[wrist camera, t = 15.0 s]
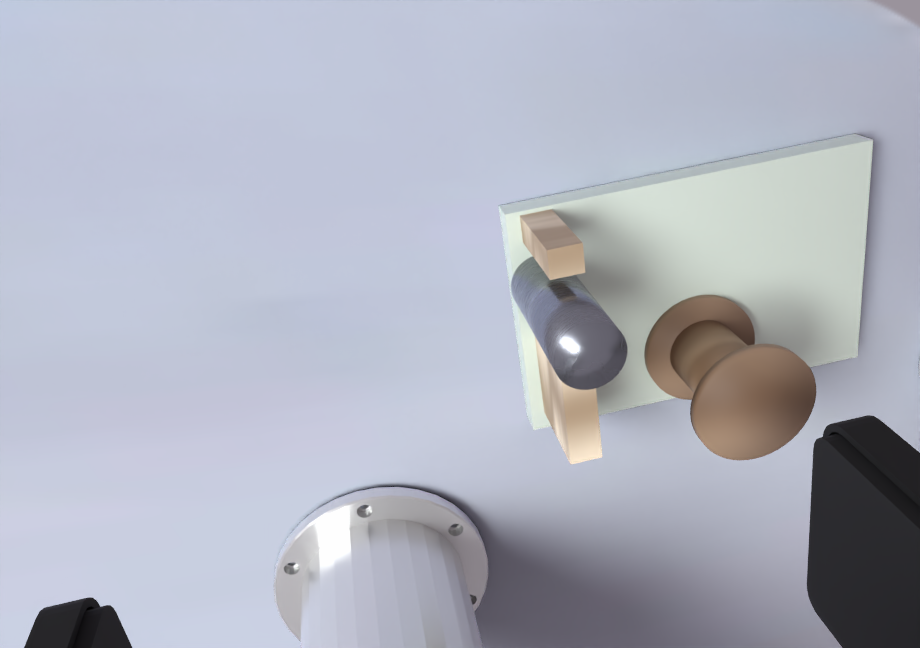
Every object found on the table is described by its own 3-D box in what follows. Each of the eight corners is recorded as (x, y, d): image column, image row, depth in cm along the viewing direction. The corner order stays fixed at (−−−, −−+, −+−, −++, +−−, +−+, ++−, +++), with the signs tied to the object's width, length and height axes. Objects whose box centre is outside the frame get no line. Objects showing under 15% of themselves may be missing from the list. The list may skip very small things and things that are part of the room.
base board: (842, 345, 48) (857, 356, 46) (527, 416, 46) (533, 430, 45) (855, 133, 42) (873, 139, 41) (498, 205, 41) (504, 214, 39)
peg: (570, 248, 40) (625, 314, 33) (575, 305, 42) (629, 381, 35) (507, 260, 40) (550, 329, 33) (514, 318, 42) (556, 396, 34)
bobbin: (749, 381, 46) (813, 444, 40) (647, 404, 45) (697, 472, 39) (749, 284, 43) (818, 337, 37) (641, 307, 43) (694, 364, 37)
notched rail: (572, 405, 44) (602, 457, 40) (544, 412, 44) (570, 464, 40) (551, 209, 40) (582, 242, 35) (519, 215, 39) (546, 250, 35)
